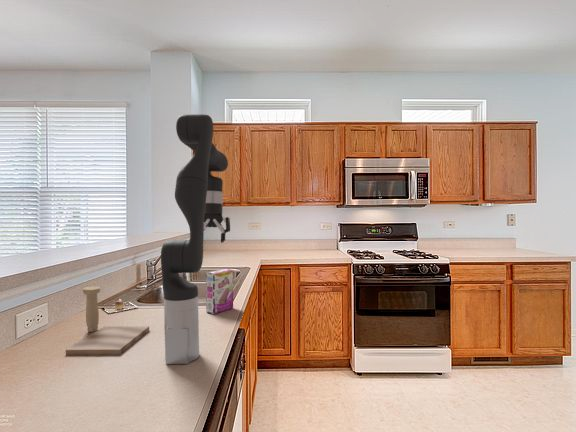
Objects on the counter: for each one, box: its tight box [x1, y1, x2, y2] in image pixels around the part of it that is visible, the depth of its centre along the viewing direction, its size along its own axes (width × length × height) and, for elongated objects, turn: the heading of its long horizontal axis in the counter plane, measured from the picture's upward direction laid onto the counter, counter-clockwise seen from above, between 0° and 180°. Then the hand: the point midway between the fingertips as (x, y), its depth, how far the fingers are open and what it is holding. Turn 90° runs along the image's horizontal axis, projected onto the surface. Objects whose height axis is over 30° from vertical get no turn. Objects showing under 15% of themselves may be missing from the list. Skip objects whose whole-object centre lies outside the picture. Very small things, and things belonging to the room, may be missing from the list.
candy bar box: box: [205, 268, 234, 315], centre depth 144 cm, size 11×5×16 cm, turn 144°
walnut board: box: [65, 325, 150, 356], centre depth 111 cm, size 20×16×2 cm
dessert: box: [104, 298, 139, 314], centre depth 149 cm, size 12×12×5 cm
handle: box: [82, 285, 101, 333], centre depth 121 cm, size 5×6×15 cm
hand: (212, 242), depth 142 cm, fingers open, 8 cm apart
